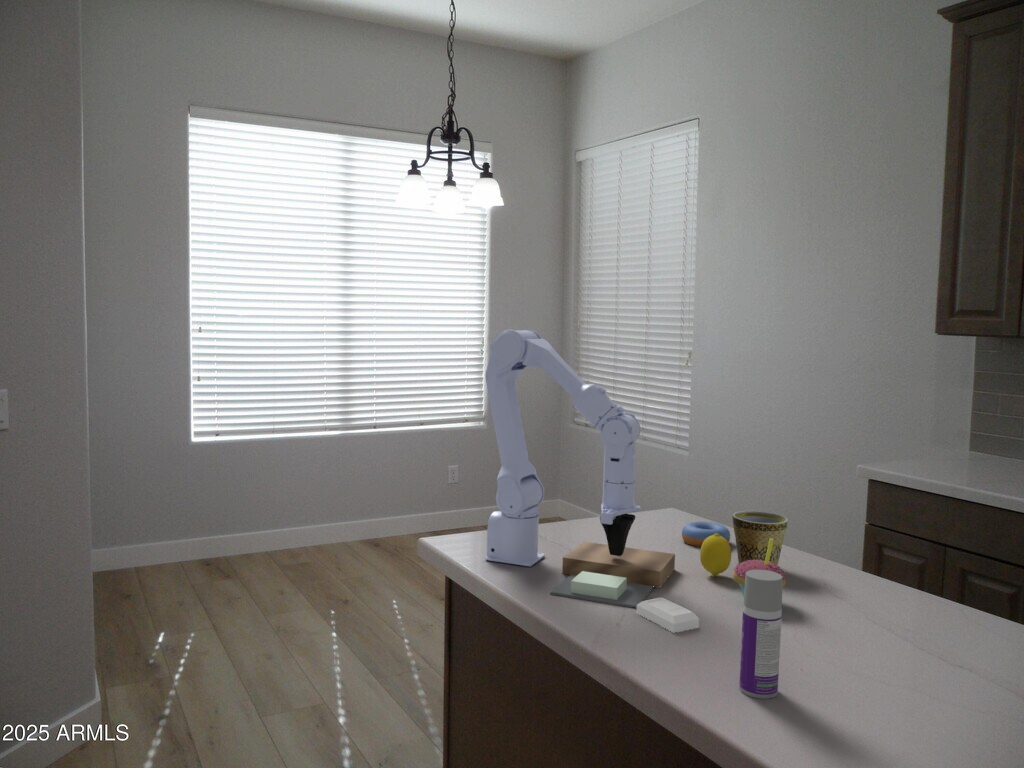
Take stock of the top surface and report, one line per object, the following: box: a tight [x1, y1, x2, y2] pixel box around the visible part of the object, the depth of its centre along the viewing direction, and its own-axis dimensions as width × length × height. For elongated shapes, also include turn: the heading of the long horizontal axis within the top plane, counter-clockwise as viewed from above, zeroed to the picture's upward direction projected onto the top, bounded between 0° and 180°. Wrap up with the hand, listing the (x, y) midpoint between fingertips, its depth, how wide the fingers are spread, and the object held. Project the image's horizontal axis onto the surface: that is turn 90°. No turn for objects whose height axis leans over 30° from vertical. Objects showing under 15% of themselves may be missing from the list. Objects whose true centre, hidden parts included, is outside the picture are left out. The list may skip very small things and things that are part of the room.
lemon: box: [699, 533, 732, 577], centre depth 150 cm, size 6×6×8 cm
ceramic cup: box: [732, 510, 789, 566], centre depth 157 cm, size 13×10×10 cm
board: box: [561, 541, 676, 588], centre depth 152 cm, size 18×12×3 cm, turn 67°
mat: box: [549, 574, 654, 609], centre depth 141 cm, size 15×11×1 cm
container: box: [739, 570, 783, 700], centre depth 104 cm, size 5×5×15 cm
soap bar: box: [635, 596, 700, 634], centre depth 128 cm, size 5×9×3 cm, turn 29°
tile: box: [571, 571, 627, 600], centre depth 140 cm, size 8×6×2 cm
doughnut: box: [681, 521, 731, 548], centre depth 173 cm, size 10×10×5 cm
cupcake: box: [732, 535, 788, 599], centre depth 137 cm, size 9×8×12 cm
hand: (616, 554), depth 150 cm, fingers closed
